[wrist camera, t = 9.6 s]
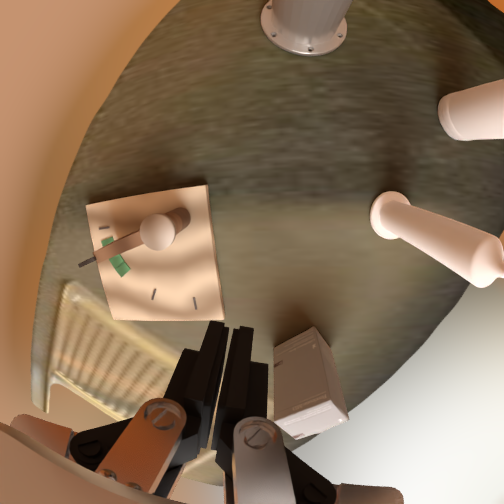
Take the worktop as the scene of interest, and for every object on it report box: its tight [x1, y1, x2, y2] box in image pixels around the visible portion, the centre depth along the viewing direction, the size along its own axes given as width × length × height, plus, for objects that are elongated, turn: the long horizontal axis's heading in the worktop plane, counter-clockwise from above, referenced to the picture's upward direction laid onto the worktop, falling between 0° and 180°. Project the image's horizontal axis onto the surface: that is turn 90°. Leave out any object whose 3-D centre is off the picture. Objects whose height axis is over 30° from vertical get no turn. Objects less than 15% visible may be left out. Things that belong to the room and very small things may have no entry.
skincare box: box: [273, 326, 349, 440], centre depth 36 cm, size 8×7×16 cm
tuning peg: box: [78, 207, 191, 267], centre depth 33 cm, size 16×4×9 cm, turn 110°
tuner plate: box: [86, 185, 225, 321], centre depth 40 cm, size 20×20×2 cm
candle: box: [370, 191, 504, 288], centre depth 25 cm, size 7×7×25 cm
